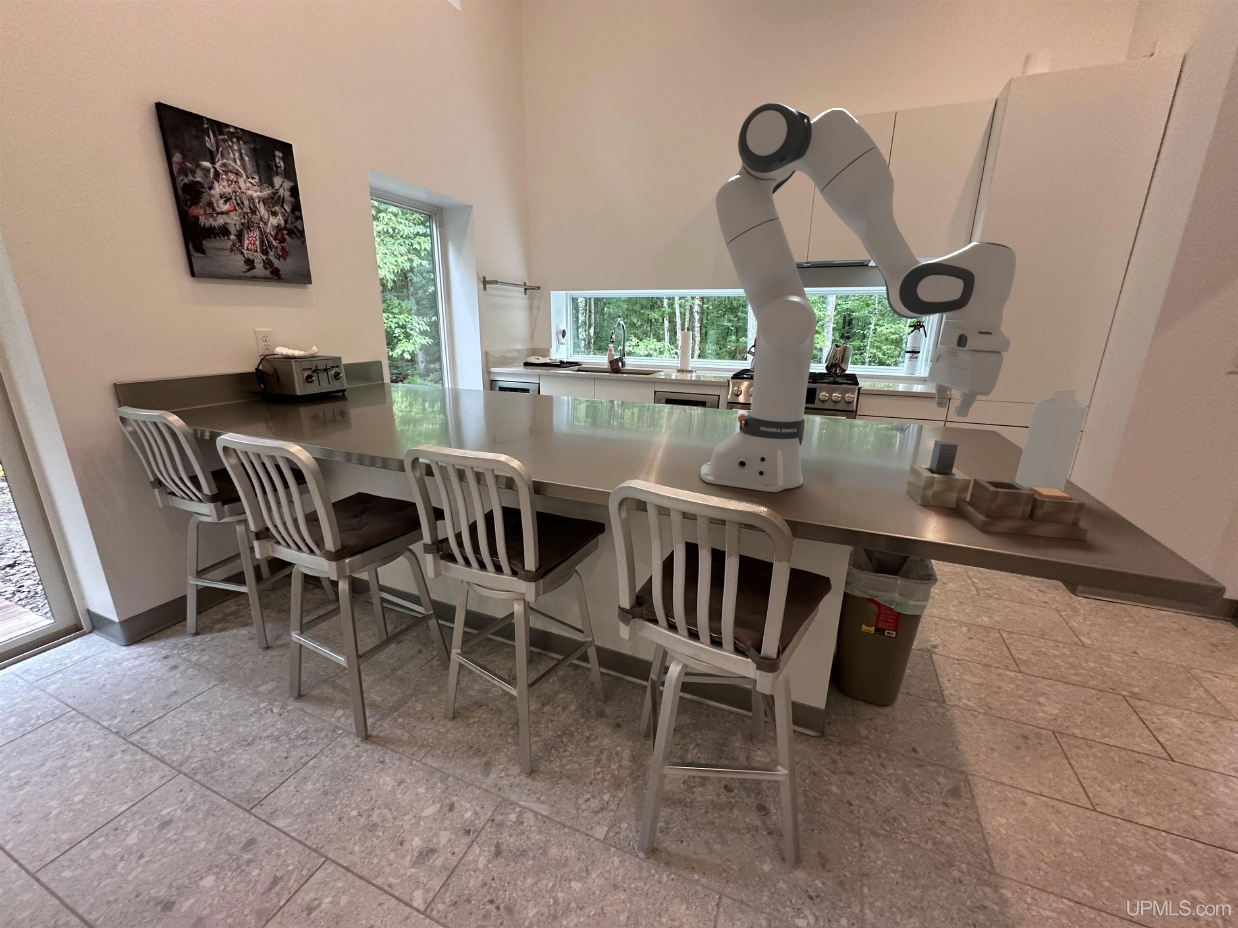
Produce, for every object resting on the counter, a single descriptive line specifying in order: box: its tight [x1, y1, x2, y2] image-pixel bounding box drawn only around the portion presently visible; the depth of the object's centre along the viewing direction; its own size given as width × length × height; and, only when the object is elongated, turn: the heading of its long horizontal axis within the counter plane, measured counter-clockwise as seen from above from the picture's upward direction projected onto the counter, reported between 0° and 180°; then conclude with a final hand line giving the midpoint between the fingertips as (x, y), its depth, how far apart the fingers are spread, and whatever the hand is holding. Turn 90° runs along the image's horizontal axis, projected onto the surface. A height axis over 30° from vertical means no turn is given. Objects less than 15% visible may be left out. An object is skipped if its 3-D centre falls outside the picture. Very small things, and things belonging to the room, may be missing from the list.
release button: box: [1030, 487, 1072, 500], centre depth 89 cm, size 4×4×4 cm
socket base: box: [954, 477, 1090, 541], centre depth 90 cm, size 16×10×7 cm, turn 78°
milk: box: [1014, 389, 1088, 492], centre depth 105 cm, size 6×6×22 cm
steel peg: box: [929, 439, 959, 475], centre depth 100 cm, size 3×3×12 cm
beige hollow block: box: [905, 464, 972, 509], centre depth 101 cm, size 8×8×6 cm
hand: (949, 411), depth 97 cm, fingers open, 8 cm apart
